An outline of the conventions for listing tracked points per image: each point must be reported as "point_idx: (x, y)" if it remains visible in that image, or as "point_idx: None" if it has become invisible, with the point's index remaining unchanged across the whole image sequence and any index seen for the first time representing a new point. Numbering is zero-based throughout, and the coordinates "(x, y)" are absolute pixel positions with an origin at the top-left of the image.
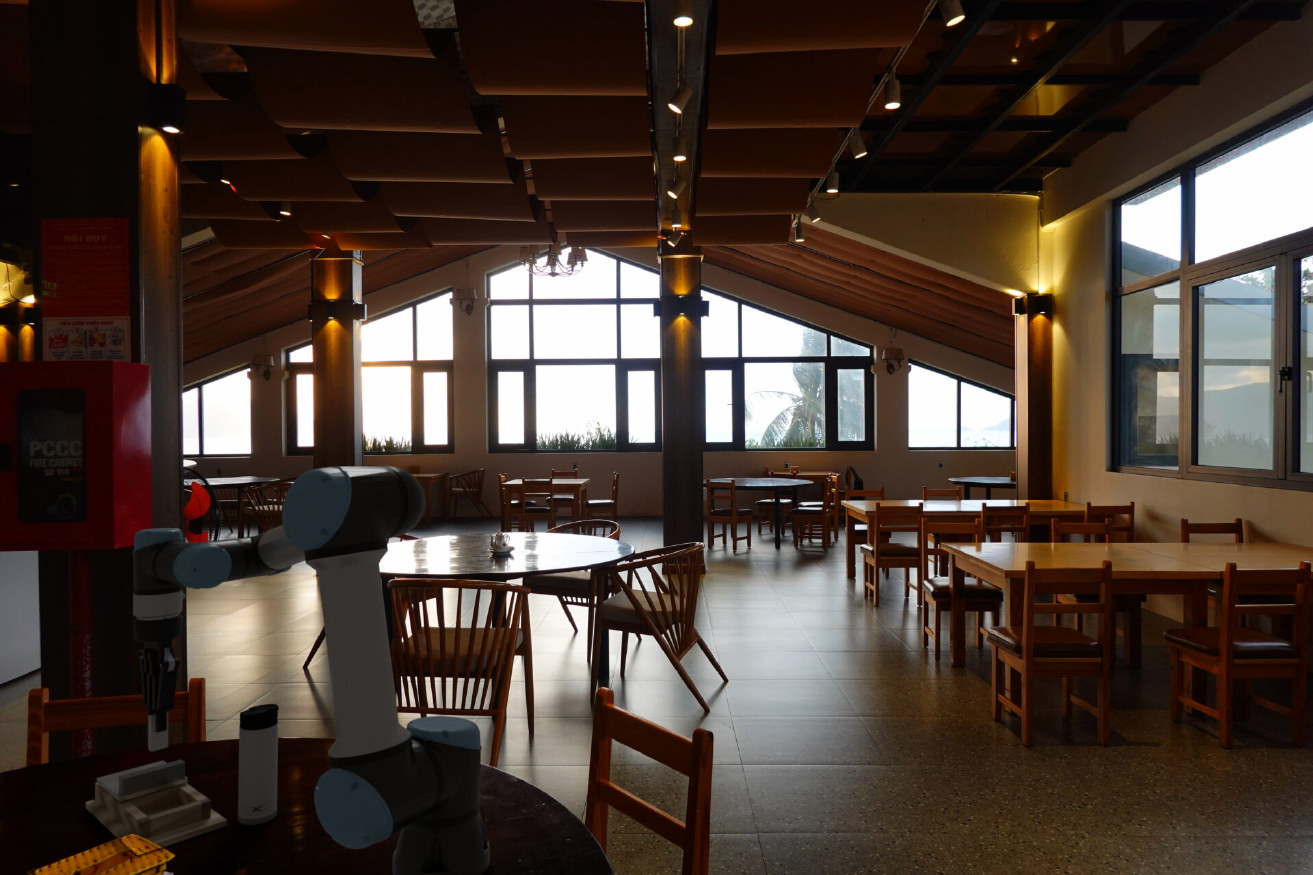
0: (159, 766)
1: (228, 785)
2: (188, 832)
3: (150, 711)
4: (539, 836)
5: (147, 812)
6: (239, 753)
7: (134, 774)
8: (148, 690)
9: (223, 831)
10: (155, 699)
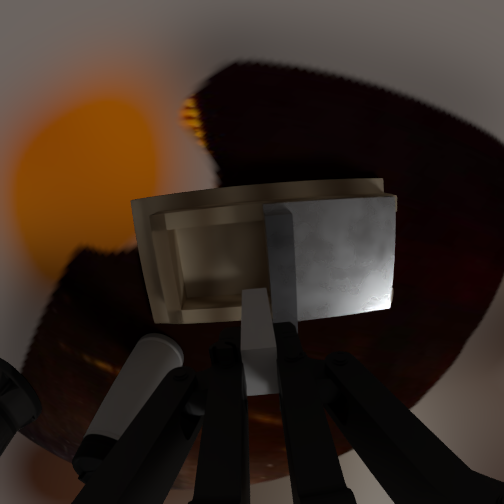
0: (289, 293)
1: None
2: (144, 272)
3: (230, 354)
4: (38, 435)
5: (265, 244)
6: (123, 400)
7: (278, 242)
8: (298, 415)
9: (142, 310)
10: (207, 402)
